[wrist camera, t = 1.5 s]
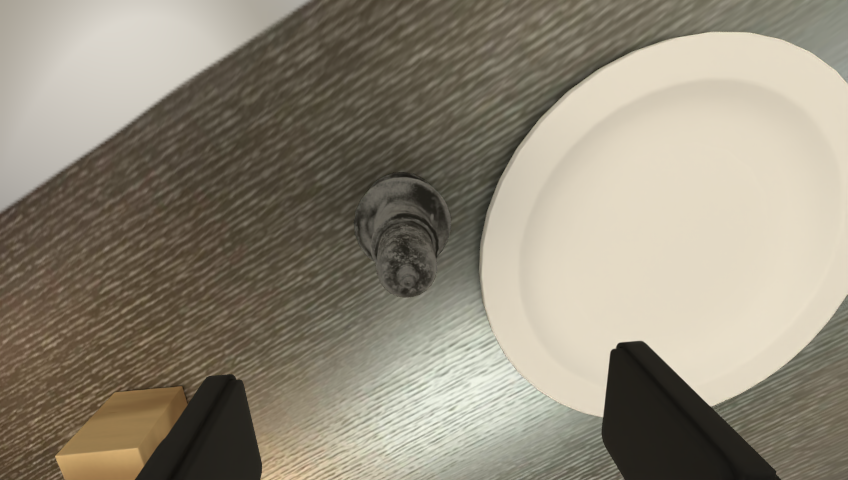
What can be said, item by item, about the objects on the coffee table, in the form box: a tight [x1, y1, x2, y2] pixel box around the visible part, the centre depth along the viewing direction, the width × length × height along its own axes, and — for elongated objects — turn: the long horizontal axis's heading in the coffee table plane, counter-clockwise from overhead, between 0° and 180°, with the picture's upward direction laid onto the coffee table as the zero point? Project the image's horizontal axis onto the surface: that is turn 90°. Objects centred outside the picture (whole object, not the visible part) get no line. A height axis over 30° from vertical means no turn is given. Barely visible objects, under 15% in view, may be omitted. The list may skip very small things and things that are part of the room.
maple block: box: [55, 386, 188, 480], centre depth 30 cm, size 5×5×6 cm
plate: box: [479, 32, 848, 417], centre depth 30 cm, size 28×28×2 cm
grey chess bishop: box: [354, 172, 451, 298], centre depth 23 cm, size 6×6×12 cm
